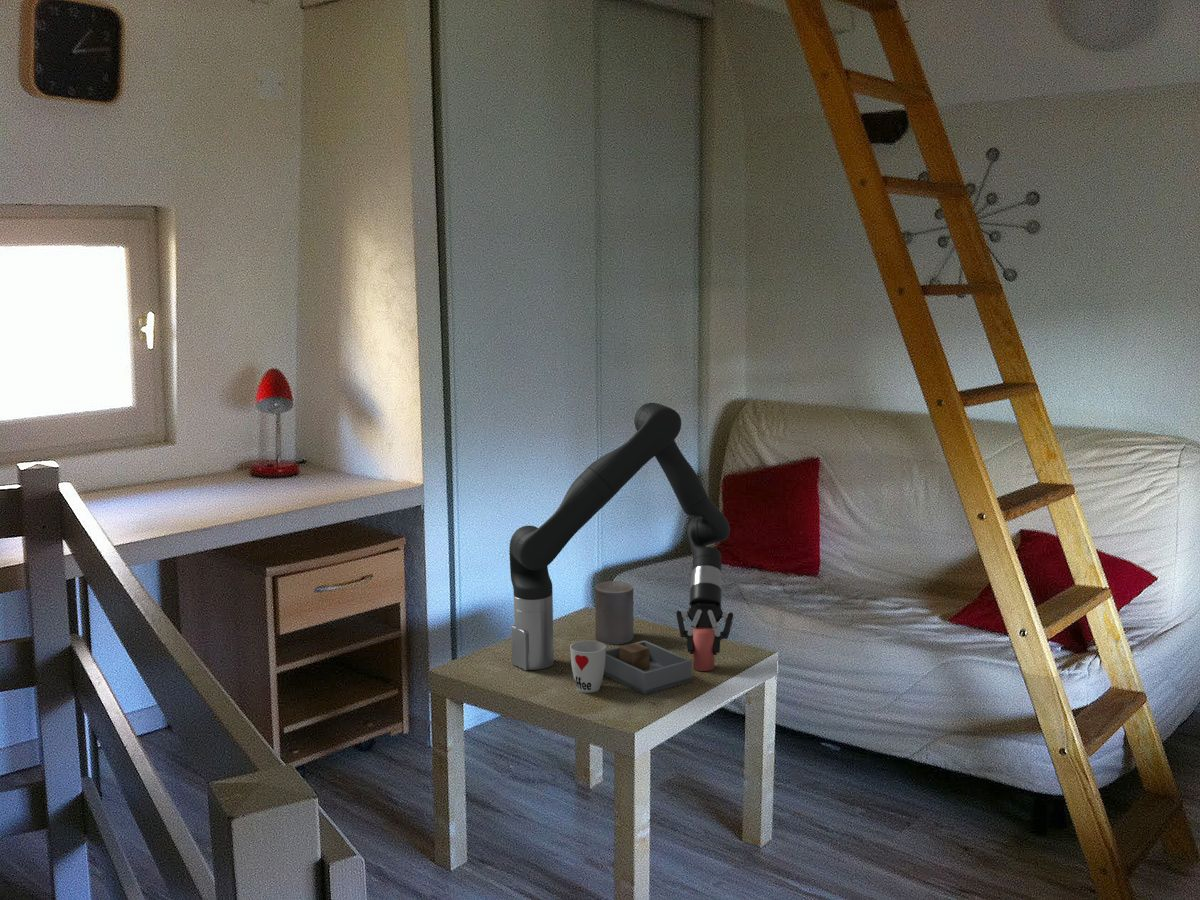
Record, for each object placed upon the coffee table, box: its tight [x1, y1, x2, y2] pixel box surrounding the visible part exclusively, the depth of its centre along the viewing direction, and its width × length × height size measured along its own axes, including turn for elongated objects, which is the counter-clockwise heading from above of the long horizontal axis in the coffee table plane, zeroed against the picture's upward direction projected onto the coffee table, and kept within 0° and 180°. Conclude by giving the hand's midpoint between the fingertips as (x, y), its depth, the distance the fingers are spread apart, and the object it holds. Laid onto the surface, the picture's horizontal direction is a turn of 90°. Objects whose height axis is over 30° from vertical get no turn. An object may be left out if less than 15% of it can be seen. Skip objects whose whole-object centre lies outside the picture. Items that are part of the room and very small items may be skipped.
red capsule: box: [692, 627, 715, 672], centre depth 290 cm, size 5×5×9 cm
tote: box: [603, 640, 693, 696], centre depth 285 cm, size 14×18×5 cm
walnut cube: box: [618, 642, 650, 671], centre depth 288 cm, size 5×5×5 cm
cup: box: [569, 640, 607, 694], centre depth 278 cm, size 8×8×10 cm
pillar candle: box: [594, 580, 634, 645], centre depth 311 cm, size 10×10×15 cm
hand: (703, 653), depth 288 cm, fingers closed on red capsule, 5 cm apart
